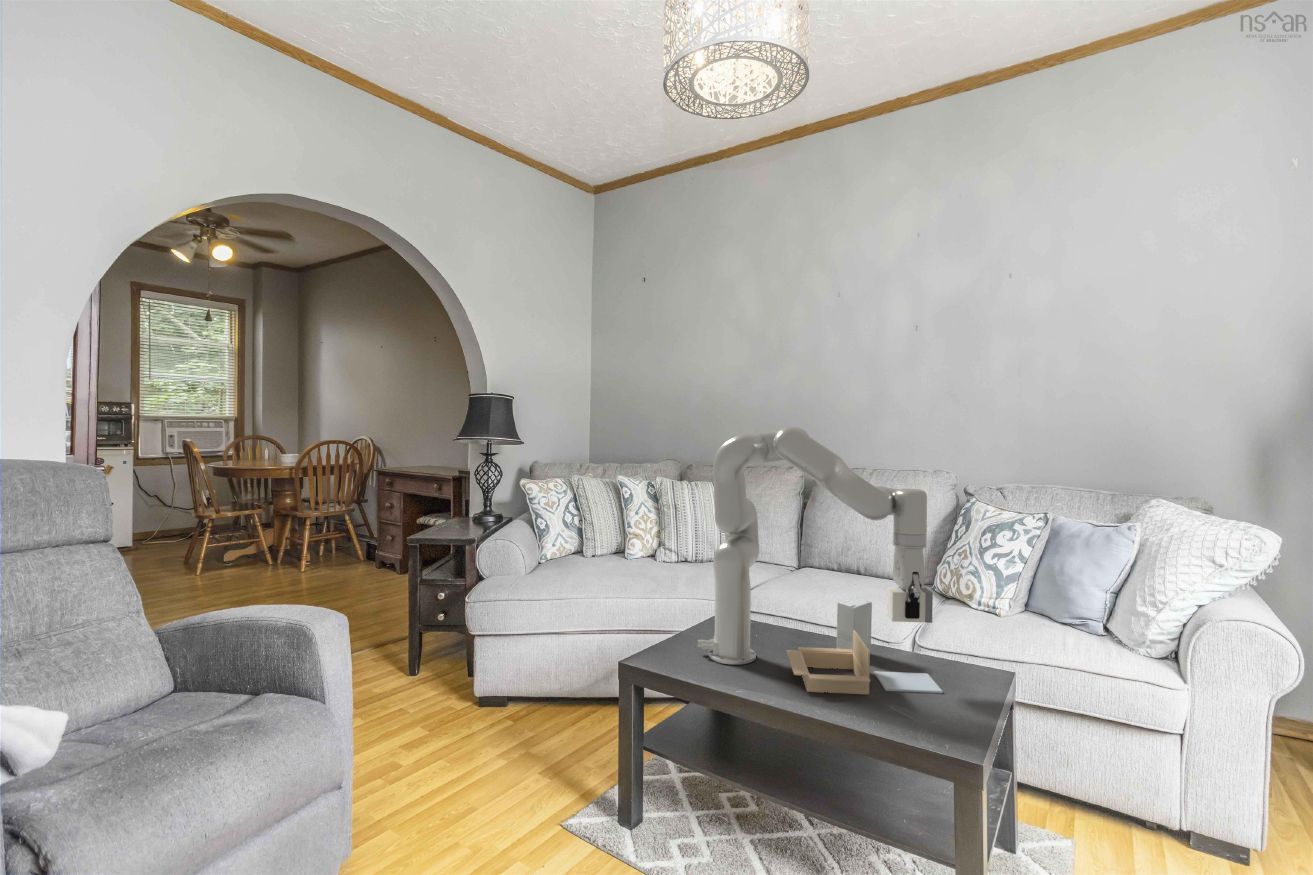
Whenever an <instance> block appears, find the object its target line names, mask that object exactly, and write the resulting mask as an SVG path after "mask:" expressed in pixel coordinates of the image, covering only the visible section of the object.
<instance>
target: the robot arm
mask: <svg viewBox="0 0 1313 875" xmlns="http://www.w3.org/2000/svg"><path fill="white" fill-rule="evenodd" d="M781 461H782V462H783V461H785V462H787V463H788V464H790V465H791V466H793V467H794V468H796V469H797V470H798V471H800V472H802V473H803V474H804V475H806V476H808V477H809V478H810V479H812V480H813V481H815V482H816V483H818V484H819V485H820V486H821V487H822V488H823V489H825V490H826V491H828V492H829V493H830V494H831V495H832V496H834V497H835V498H836V499H838V500H839V501H841V502H842V503H843V504H844V505H845V506H848V507H849V508H850V509H851V510H854V511H855V513H856V512H857V513H858V514H860V515H861V516H863V517H864V518H865V519H867V520H871V521H882V520H884V519H886V518H887V517H888V516H893V533H892V534H893V536H892V538H893V539H892V542H893V546H894V552H893V553H894V555H893V563H892V564H893V565H892V566H893V567H892V568H893V569H892V580H893V583H895V584H896V585H897V586H898V588H902V589H906V595H907V601H905V617H906V618H908V619H919V617H920V594H921V589H923V587H925V586H924V585H925V583H924V582H925V562H924V561H925V560H924V558H925V557H924V549H926V548H927V537H928V536H927V534H928V533H927V532H928V531H927V530H928V518H927V517H928V495H927V492H926V491H925V490H923V489H916V488H892V487H885V486H879V485H878V486H876V485H873V484H872V483H870V482H869V481H867V480H865V479H864V478H863V477H861V475H858V474H857V473H856V472H854V470H852V469H851V468H850V467H849V466H848V464H846V463H845V461H844V460H843V459H842V458H841V456H839V455H838V454H836V453H834V451H832V450H830V449H828V448H827V447H825V446H824V445H822V444H821V443H819V442H818V441H817V440H814V439H813V438H812V437H810V435H809V434H808V432H807V431H805V429H803V428H801V427H797V426H787V427H784V428H781V429H777V430H771V431H765V432H759V433H757V432H756V433H745V434H738V435H736V436H733V437H732V438H730V439H727V440H726V441H725V442H724V443H723V444H721V446H720V447H719V448H718V450H717V451H716V453H715V456H714V459H713V465H712V474H713V476H712V477H713V500H714V502H713V503H714V522H715V525H716V527H717V528H718V531H720V532H721V533H724V536H725V540H724V541H723V542H722V543H720V544H719V545H718V546H717V548H716V549H715V551H714V553H713V558H712V566H713V575H714V635H713V638H709V639H708V640H707V639H697V648H701V650H708V657H709V658H710V659H711V660H712V661H714V662H716V663H719V664H724V665H733V666H734V665H735V666H737V665H738V666H739V665H747V664H749V663H752V662H754V661H755V660H756V658H757V657H756V656H757V653H756V652H755V651H754V650H753V649H752V648H751V608H752V606H751V604H752V601H751V598H752V597H751V595H752V594H751V590H752V589H751V577H750V568H751V567H752V566H753V565H754V564H755V563H756V561H757V560H758V557H759V554H760V544H759V543H760V542H759V541H760V540H759V524H758V522H759V521H758V512H757V509H756V506H755V505H754V502H752V500H750V499H749V498H747V494H746V493H747V492H746V487H747V486H746V480H745V470H746V468H747V467H749V466H751V467H752V466H755V465H761V464H768V463H775V462H781ZM911 588H914V589H911ZM910 591H913V593H911V595H910Z"/></svg>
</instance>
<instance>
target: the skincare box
mask: <svg viewBox="0 0 1313 875" xmlns="http://www.w3.org/2000/svg"><path fill="white" fill-rule="evenodd" d="M836 604H837V606H836V607H837V608H836V609H837V610H836V614H837V616H836V648H835V649H852V651H853V630H855V631H856V632H857V634H858V635H859V637H860V638H861V640H862V641H863V643H864V644H865V646H866V647H867V649H868V650H869V651H870V655H871V654H872V618H873V617H872V615H873V614H872V612H873V609H872V608H873V602H872V601H869V600H867V599H863V598H862V599H861V598H858V597H855V596H853V597H851V598H848V599H845V600H843V601H839V602H837V603H836Z"/></svg>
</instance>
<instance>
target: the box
mask: <svg viewBox="0 0 1313 875" xmlns="http://www.w3.org/2000/svg"><path fill="white" fill-rule="evenodd" d="M911 589H914V588H913V587H912V588H911ZM886 590H887V591H886V597H887V598H886V616H887V618H888V619H889V620H890V621H891V622H895V623H896V622H899V623H924V624H925V623H928V624H930V623H931V624H932V623H933V605H934V604H933V602H934V601H933V599H934V598H933V596H934V593H933V592H932V591H931V590H930V589H929V588H928V587H925V586H923V589H921V594H920V617H919V619H908V618H906V617H905V601H907V595H906V589H902V588H899V586H898V587H892V586H889V587H888V586H887V589H886ZM911 593H913V591H910V595H911Z"/></svg>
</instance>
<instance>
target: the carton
mask: <svg viewBox="0 0 1313 875" xmlns="http://www.w3.org/2000/svg"><path fill="white" fill-rule="evenodd" d="M786 654H787V656H788V659H789V662H790V667H791V669H792V672H793V675H794V676H801V675H802V676H801V678H803V679H802V681H804V682H803V685H804V686H805V691H806V692H807V693H809V692H810V693H824V692H826V693H827V692H828V693H829V694H850V695H851V694H852V695H870V683H871V678H870V667H871V666H870V663H871V661H870V657H871V654H870V651H869V650H868V649H867V647H866V646H865V644H864V643H863V641H862V640H861V638H860V637H859V635H858V634H857V632H856V631H855V630H853V651H852V649H836V648H832V647H831V648H830V647H829V648H828V647H807V646H804V647H803V646H802V647H801V646H798V649H786ZM807 667H813V668H812V669H830V668H831V669H832V668H833V669H836V670H837V668H838V670H852V669H853V670H852V672H853V673H854V675H840V674H821V673H820V674H818V673H816V674H815V673H810V672H809V669H808V668H807ZM826 693H825V694H826Z"/></svg>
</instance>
